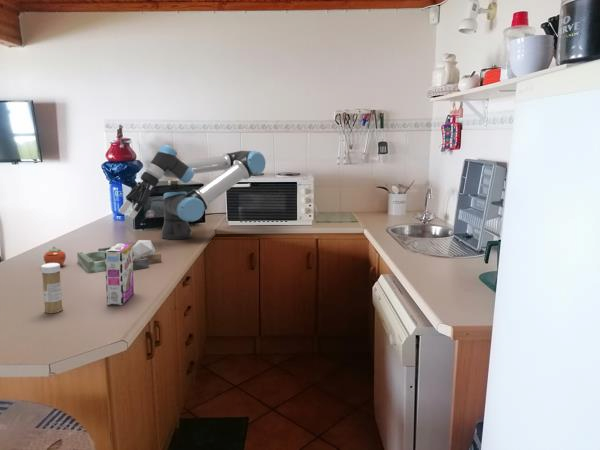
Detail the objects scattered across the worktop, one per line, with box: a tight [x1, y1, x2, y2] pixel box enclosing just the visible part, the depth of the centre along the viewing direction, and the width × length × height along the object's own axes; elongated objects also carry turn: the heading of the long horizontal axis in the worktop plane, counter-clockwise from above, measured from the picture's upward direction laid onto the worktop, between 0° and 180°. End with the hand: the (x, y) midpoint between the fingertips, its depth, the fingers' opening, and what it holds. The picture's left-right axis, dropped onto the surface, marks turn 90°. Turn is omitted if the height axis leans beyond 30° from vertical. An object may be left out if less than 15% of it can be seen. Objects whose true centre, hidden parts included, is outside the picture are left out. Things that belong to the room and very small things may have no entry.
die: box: [132, 239, 156, 260], centre depth 179 cm, size 8×9×10 cm
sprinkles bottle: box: [40, 263, 64, 314], centre depth 121 cm, size 5×5×14 cm
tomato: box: [43, 245, 67, 268], centre depth 165 cm, size 7×7×8 cm
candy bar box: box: [104, 243, 135, 306], centre depth 132 cm, size 11×5×16 cm, turn 5°
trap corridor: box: [76, 246, 162, 274], centre depth 173 cm, size 27×27×4 cm
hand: (125, 215), depth 193 cm, fingers open, 13 cm apart
